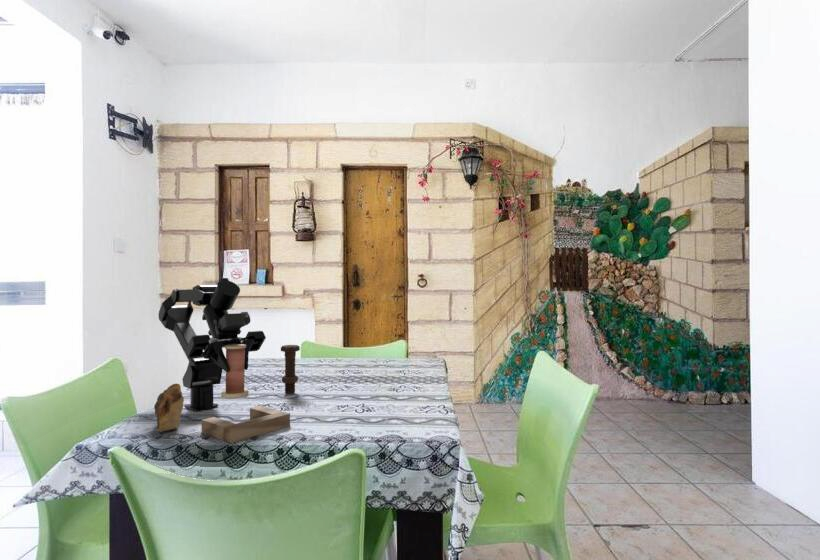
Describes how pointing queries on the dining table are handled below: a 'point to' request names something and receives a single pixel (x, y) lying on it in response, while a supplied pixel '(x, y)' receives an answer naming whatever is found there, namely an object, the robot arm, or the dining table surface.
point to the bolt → (290, 368)
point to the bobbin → (235, 372)
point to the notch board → (247, 425)
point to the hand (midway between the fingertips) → (237, 370)
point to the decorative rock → (169, 408)
